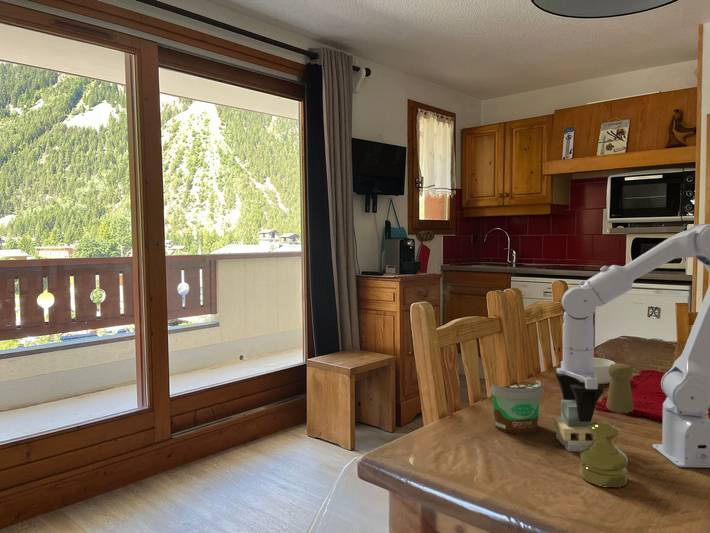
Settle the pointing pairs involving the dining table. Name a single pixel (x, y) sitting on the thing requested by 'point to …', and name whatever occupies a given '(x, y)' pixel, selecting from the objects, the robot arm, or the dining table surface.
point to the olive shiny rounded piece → (603, 457)
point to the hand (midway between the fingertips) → (577, 414)
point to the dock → (574, 442)
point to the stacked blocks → (571, 422)
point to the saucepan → (602, 370)
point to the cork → (620, 389)
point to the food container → (517, 407)
